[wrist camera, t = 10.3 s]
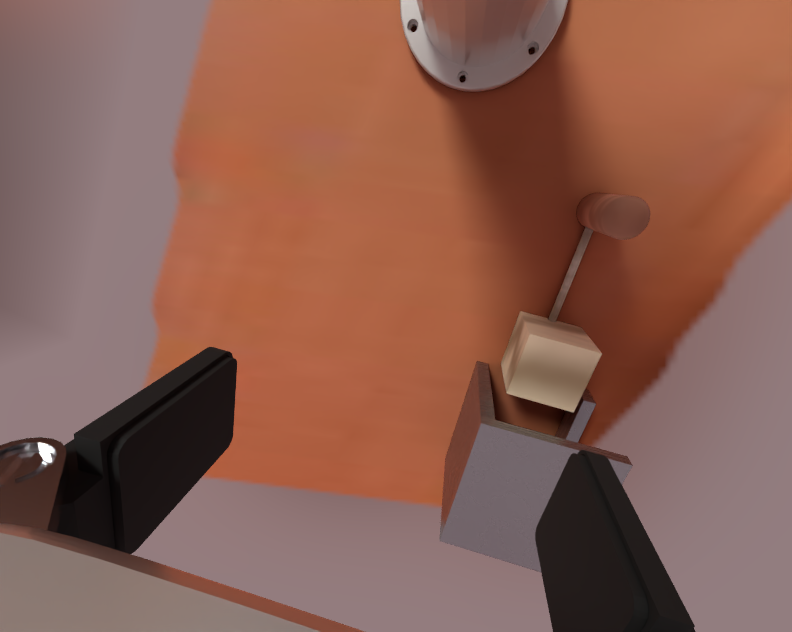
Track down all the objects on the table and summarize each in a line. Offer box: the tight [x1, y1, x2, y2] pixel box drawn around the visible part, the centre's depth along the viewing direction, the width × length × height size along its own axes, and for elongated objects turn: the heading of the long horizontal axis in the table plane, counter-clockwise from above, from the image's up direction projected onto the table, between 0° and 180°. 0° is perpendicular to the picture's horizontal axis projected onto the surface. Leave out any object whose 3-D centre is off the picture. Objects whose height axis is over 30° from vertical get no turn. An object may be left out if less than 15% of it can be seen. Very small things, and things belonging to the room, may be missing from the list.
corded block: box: [501, 193, 650, 413], centre depth 33 cm, size 18×6×7 cm, turn 167°
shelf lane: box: [440, 361, 632, 572], centre depth 36 cm, size 13×12×11 cm
